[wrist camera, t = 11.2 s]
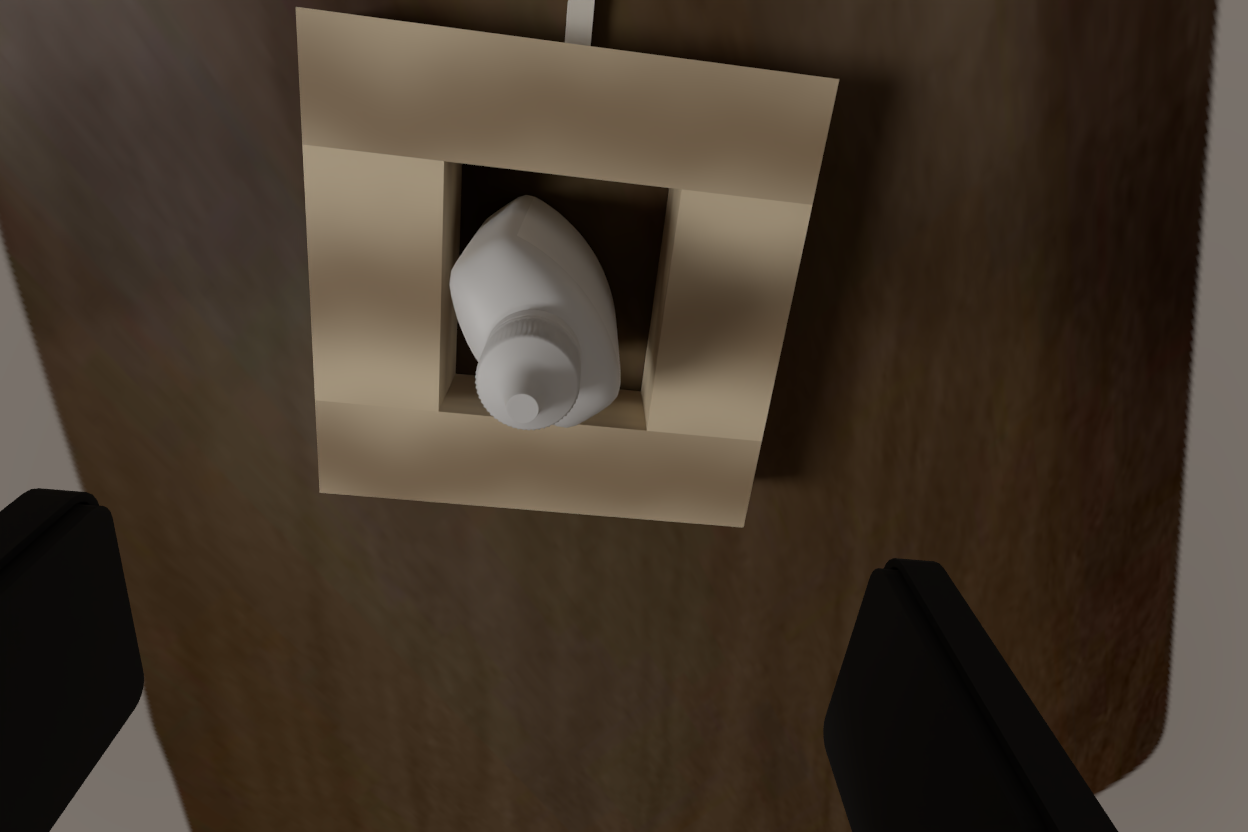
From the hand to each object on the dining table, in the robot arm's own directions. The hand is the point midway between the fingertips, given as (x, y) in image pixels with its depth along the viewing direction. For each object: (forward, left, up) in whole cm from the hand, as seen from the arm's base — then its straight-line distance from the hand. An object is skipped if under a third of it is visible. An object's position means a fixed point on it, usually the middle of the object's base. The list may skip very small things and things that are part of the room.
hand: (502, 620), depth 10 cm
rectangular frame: (+1, 0, -19) cm, 19 cm away
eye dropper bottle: (0, 0, -19) cm, 19 cm away
